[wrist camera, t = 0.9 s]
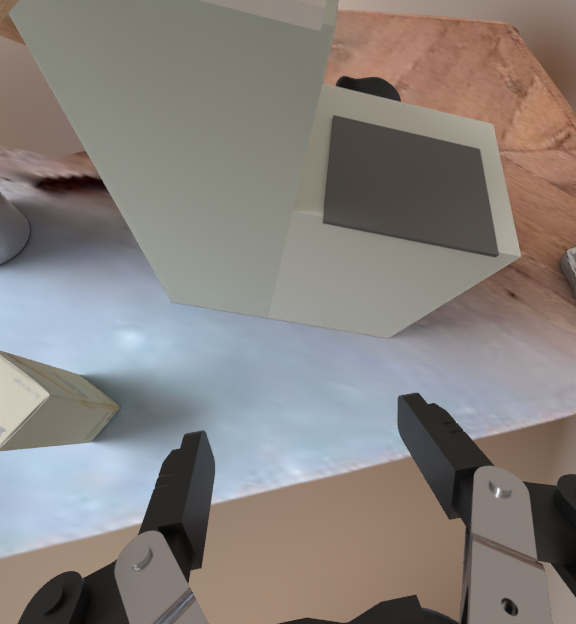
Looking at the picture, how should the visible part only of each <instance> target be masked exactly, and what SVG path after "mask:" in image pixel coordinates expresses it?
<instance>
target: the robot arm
mask: <svg viewBox="0 0 576 624" xmlns="http://www.w3.org/2000/svg"><path fill="white" fill-rule="evenodd" d="M29 235H30V226H29V222H28V221H27V219H26V217H25V216H24V215H23V214H22V213H21V212H20V211H19V210H18V209H17V208H16V207H15V206H14V205H13V204H12V203H11V202H10V201H9V200H8V199H6V198H5V197H4V196H3V195H2V194H1V192H0V264H2V263H4V262H6V261H8V260H10V259H11V258H13V257H14V256H15V255H17V254H18V253H19V252H20V251H21V250H22V249H23V248H24V246H25V244H26V243H27V241H28V238H29ZM398 430H399V433H400V436H401V438H402V440H403V442H404V444H405V445H406V447H407V449H408V450H409V452H410V454H411V456H412V457H413V459H414V460H415V462H416V464H417V466H418V467H419V469H420V471H421V472H422V474H423V476H424V477H425V479H426V481H427V483H428V484H429V486H430V488H431V489H432V491H433V493H434V494H435V496H436V498H437V500H438V501H439V503H440V505H441V506H442V508H443V510H444V511H445V513H446V515H447V516H448V518H449V519H450V520H451V519H456V518H461V519H462V521H463V522H464V524H465V525H466V530H465V545H464V561H463V577H462V591H461V601H460V611H459V623H458V622H457V621H455V620H453V619H451V618H450V617H448V616H446V615H444V614H441V613H439V612H437V611H433V610H430V609H427V608H421V606H420V603H419V601H418V598H417V596H416V595H412V596H407V597H402V598H398V599H393V600H388V601H384V602H380V603H379V604H377V605H375V606H374V607H372V608H371V609H369V610H367V611H366V612H364V613H363V614H361V615H360V616H358V617H356V618H355V619H353V620H352V621H350V622H348V623H339V622H333V621H326V620H319V619H312V618H303V619H298V620H293V621H288V622H284V623H279V624H553V623H552V615H551V608H550V601H549V594H548V586H547V579H546V573H545V569H544V567H543V565H542V564H541V563H538V561H543V562H548V563H551V564H552V566H553V567H554V568H555V570H556V571H557V573H558V574H559V575H560V577H561V578H562V579H563V581H564V582H565V583H566V585H567V586H568V587H569V589H570V590H571V592H572V593H573V594H574V595H575V597H576V475H575V474H570V475H564V476H562V477H560V479H559V480H558V482H557V486H554V485H546V484H536V483H529V482H523V481H521V480H520V479H519V478H518V477H517V476H515V475H514V474H512V473H511V472H509V471H507V470H505V469H502V468H500V467H496V466H494V465H493V464H492V462H491V461H490V460H489V459H488V458H487V457H486V456H485V454H484V453H483V452H482V451H481V450H480V449H479V448H478V447H477V445H476V444H475V443H474V442H473V441H472V440H471V438H470V437H469V436H468V435H467V434H466V433H465V432H463V429H462V428H461V427H460V426H459V425H458V423H456V422H455V420H454V419H453V418H452V417H451V415H450V414H449V413H448V412H447V411H446V410H444V409H443V408H441V407H439V406H438V405H436V404H435V403H432V404H427V403H426V401H425V400H424V399H423V398H422V396H421V395H420V394H419V393H412V394H406V395H401V396H399V397H398ZM214 477H215V461H214V456H213V453H212V450H211V447H210V444H209V441H208V438H207V434H206V432H205V431H198V432H192V433H187V434H185V435H184V437H183V440H182V444H181V447H180V449H176V450H172V451H171V452H170V454H169V455H168V456H167V458H166V459H165V460H164V462H163V464H162V467H161V470H160V473H159V478H158V479H157V482H156V484H155V489H154V490H153V493H152V496H151V499H150V502H149V505H148V508H147V511H146V514H145V517H144V520H143V523H142V525H141V528H140V531H139V534H138V536H137V537H135V538H134V539H132V540H131V541H130V542H129V543H128V544H127V546H125V548H124V549H123V550H122V552H121V553H120V555H119V557H118V559H117V560H116V561H115V562H112V563H111V564H109V565H107V566H105V567H103V568H102V569H100V570H98V571H96V572H94V573H92V574H90V575H88V576H87V577H85V578H82V577H81V575H80V574H79V573H77V572H74V571H69V572H65V573H62V574H60V575H58V576H56V577H54V578H53V579H51V580H50V581H49V582H47V583H46V584H45V585H44V586H43V587H42V588H41V589H40V590H39V591H38V592H37V593H36V594H35V595H34V597H33V598H32V599H31V601H30V602H29V604H28V605H27V607H26V609H25V611H24V612H23V614H22V616H21V618H20V620H19V622H18V624H209V623H208V621H207V619H206V617H205V615H204V613H203V611H202V609H201V608H200V606H199V604H198V602H197V600H196V598H195V596H194V594H193V592H192V591H191V589H190V587H189V585H188V582H189V577H190V571H191V570H194V569H199V568H201V567H202V560H203V553H204V547H205V539H206V533H207V526H208V519H209V512H210V505H211V498H212V491H213V484H214Z"/></svg>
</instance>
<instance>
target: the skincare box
mask: <svg viewBox="0 0 576 624" xmlns="http://www.w3.org/2000/svg"><path fill="white" fill-rule="evenodd" d="M119 409H120V405H118V404H117V403H116V402H114V401H113V400H112V399H111V398H109V397H108V396H107V395H106V394H104V393H103V392H102V391H100V390H99V389H98V388H96V387H95V386H94V385H92V384H91V383H90V382H88V381H87V380H86V379H84V378H83V377H82V376H80V375H78V374H75V373H72V372H69V371H66V370H63V369H59V368H56V367H53V366H49V365H46V364H43V363H39V362H36V361H33V360H29V359H26V358H23V357H20V356H16V355H13V354H9V353H6V352H3V351H0V451H7V450H16V449H27V448H38V447H48V446H59V445H69V444H80V443H90V442H91V441H92V440H93V439H94V438H95V437H96V436H97V435H98V434H99V432H100V431H101V430H102V429H103V428H104V427H105V426H106V424H107V423H108V422H109V421H110V420H111V419H112V417H113V416H114V415H115V414H116V412H117V411H118V410H119Z"/></svg>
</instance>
